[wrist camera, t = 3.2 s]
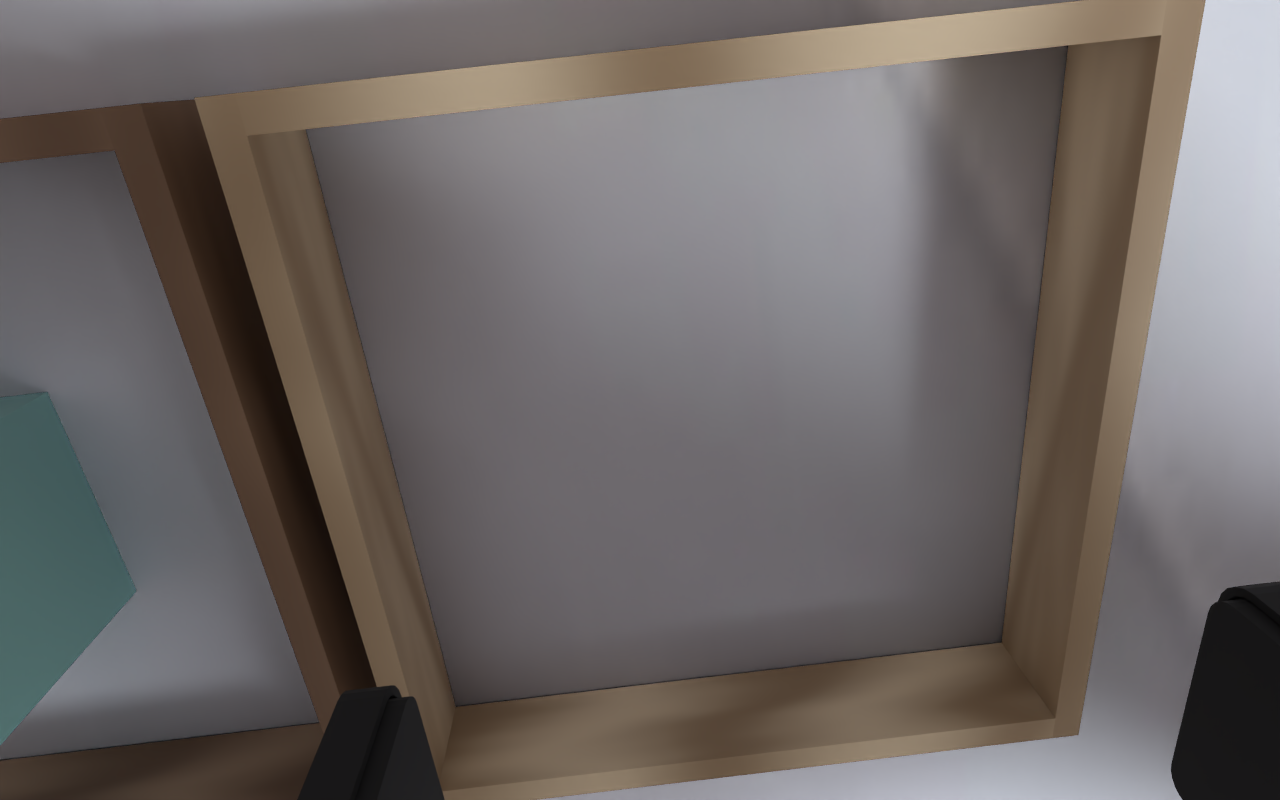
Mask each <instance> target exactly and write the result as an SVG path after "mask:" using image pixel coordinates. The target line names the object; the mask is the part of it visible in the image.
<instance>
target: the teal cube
mask: <svg viewBox="0 0 1280 800" xmlns="http://www.w3.org/2000/svg"><path fill="white" fill-rule="evenodd" d="M135 592H136V589H135V586H134V584H133V582H132V580H131V577H130V575H129V573H128V571H127V568H126V566H125V564H124V562H123V560H122V557H121V555H120V553H119V551H118V548H117V546H116V544H115V542H114V540H113V537H112V535H111V533H110V531H109V528H108V526H107V524H106V522H105V519H104V517H103V515H102V513H101V511H100V508H99V506H98V504H97V502H96V499H95V497H94V495H93V493H92V490H91V488H90V486H89V484H88V482H87V479H86V477H85V475H84V473H83V470H82V468H81V466H80V464H79V461H78V459H77V457H76V455H75V453H74V450H73V448H72V446H71V444H70V441H69V439H68V437H67V435H66V433H65V430H64V428H63V426H62V424H61V421H60V419H59V417H58V415H57V412H56V410H55V408H54V406H53V404H52V401H51V399H50V397H49V395H48V392H43V393H34V394H25V395H17V396H8V397H0V745H1V744H2V743H3V742H4V741H5V740H6V738H7V737H8V736H9V735H10V734H11V733H12V732H13V730H14V729H15V728H16V727H17V726H18V725H19V724H20V723H21V721H22V720H23V719H24V718H25V717H26V716H27V715H28V713H29V712H30V711H31V710H32V709H33V708H34V707H35V706H36V704H37V703H38V702H39V701H40V700H41V699H42V698H43V696H44V695H45V694H46V693H47V692H48V691H49V690H50V689H51V687H52V686H53V685H54V684H55V683H56V682H57V681H58V679H59V678H60V677H61V676H62V675H63V674H64V673H65V672H66V670H67V669H68V668H69V667H70V666H71V665H72V664H73V662H74V661H75V660H76V659H77V658H78V657H79V656H80V655H81V653H82V652H83V651H84V650H85V649H86V648H87V647H88V645H89V644H90V643H91V642H92V641H93V640H94V639H95V638H96V636H97V635H98V634H99V633H100V632H101V631H102V630H103V628H104V627H105V626H106V625H107V624H108V623H109V622H110V621H111V619H112V618H113V617H114V616H115V615H116V614H117V613H118V611H119V610H120V609H121V608H122V607H123V606H124V605H125V604H126V602H127V601H128V600H129V599H130V598H131V597H132V596H133V594H134V593H135Z"/></svg>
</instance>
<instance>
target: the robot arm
mask: <svg viewBox="0 0 1280 800" xmlns="http://www.w3.org/2000/svg"><path fill="white" fill-rule="evenodd" d="M1171 773H1172V779H1173V782H1174V785H1175V787H1176V789H1177V791H1178V793H1179V795H1180V797H1181V798H1182V799H1183V800H1280V582H1272V583H1263V584H1255V585H1246V586H1238V587H1232V588H1227V589H1226V590H1225V591H1224V592H1223V593H1222V594H1221V596H1220V598H1219V600H1218V602H1216V603H1214V604H1213V605H1212V606H1211V607H1210V610H1209V612H1208V616H1207V620H1206V624H1205V628H1204V632H1203V636H1202V640H1201V645H1200V649H1199V653H1198V657H1197V661H1196V665H1195V669H1194V673H1193V677H1192V682H1191V686H1190V690H1189V694H1188V698H1187V702H1186V706H1185V710H1184V714H1183V719H1182V723H1181V727H1180V731H1179V735H1178V739H1177V743H1176V747H1175V752H1174V756H1173V760H1172V764H1171ZM297 800H445V799H444V795H443V792H442V788H441V785H440V781H439V778H438V774H437V771H436V767H435V764H434V760H433V757H432V753H431V750H430V746H429V743H428V739H427V736H426V732H425V729H424V725H423V722H422V718H421V715H420V711H419V708H418V704H417V702H416V699H415V698H414V697H413V696H409V697H402V696H401V694H400V691H399V689H398V688H397V687H396V686H394V685H390V686H382V687H373V688H364V689H356V690H347V691H345V692H343V693H342V694H341V696H340V697H339V699H338V701H337V703H336V706H335V708H334V711H333V713H332V716H331V718H330V720H329V723H328V725H327V728H326V730H325V733H324V735H323V738H322V740H321V742H320V745H319V747H318V750H317V752H316V755H315V757H314V760H313V762H312V764H311V767H310V769H309V772H308V774H307V777H306V779H305V782H304V784H303V787H302V789H301V791H300V794H299V796H298V799H297Z"/></svg>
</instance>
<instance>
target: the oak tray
mask: <svg viewBox="0 0 1280 800" xmlns="http://www.w3.org/2000/svg"><path fill="white" fill-rule="evenodd" d="M1204 6H1205V0H1082V1H1073V2H1063V3H1054V4H1045V5H1036V6H1027V7H1018V8H1009V9H1000V10H990V11H981V12H972V13H963V14H954V15H945V16H936V17H926V18H917V19H908V20H899V21H890V22H881V23H872V24H863V25H853V26H844V27H835V28H826V29H817V30H808V31H799V32H789V33H780V34H771V35H762V36H753V37H744V38H735V39H726V40H716V41H707V42H698V43H689V44H680V45H671V46H662V47H652V48H643V49H634V50H625V51H616V52H607V53H598V54H589V55H579V56H570V57H561V58H552V59H543V60H534V61H525V62H515V63H506V64H497V65H488V66H479V67H470V68H461V69H452V70H442V71H433V72H424V73H415V74H406V75H397V76H388V77H379V78H369V79H360V80H351V81H342V82H333V83H324V84H315V85H305V86H296V87H287V88H278V89H269V90H260V91H251V92H242V93H232V94H223V95H214V96H205V97H196V98H194V99H195V102H196V106H197V109H198V112H199V115H200V118H201V122H202V125H203V128H204V131H205V135H206V138H207V141H208V144H209V147H210V151H211V154H212V157H213V160H214V164H215V167H216V170H217V173H218V176H219V180H220V183H221V186H222V189H223V193H224V196H225V199H226V202H227V205H228V209H229V212H230V215H231V218H232V222H233V225H234V228H235V231H236V234H237V238H238V241H239V244H240V247H241V251H242V254H243V257H244V260H245V263H246V267H247V270H248V273H249V276H250V280H251V283H252V286H253V289H254V292H255V296H256V299H257V302H258V305H259V309H260V312H261V315H262V318H263V321H264V325H265V328H266V331H267V334H268V338H269V341H270V344H271V347H272V350H273V354H274V357H275V360H276V363H277V367H278V370H279V373H280V376H281V379H282V383H283V386H284V389H285V392H286V396H287V399H288V402H289V405H290V408H291V412H292V415H293V418H294V421H295V425H296V428H297V431H298V434H299V437H300V441H301V444H302V447H303V450H304V454H305V457H306V460H307V463H308V466H309V470H310V473H311V476H312V479H313V483H314V486H315V489H316V492H317V495H318V499H319V502H320V505H321V508H322V512H323V515H324V518H325V521H326V524H327V528H328V531H329V534H330V537H331V541H332V544H333V547H334V550H335V553H336V557H337V560H338V563H339V566H340V570H341V573H342V576H343V579H344V582H345V586H346V589H347V592H348V595H349V599H350V602H351V605H352V608H353V611H354V615H355V618H356V621H357V624H358V628H359V631H360V634H361V637H362V640H363V644H364V647H365V650H366V653H367V657H368V660H369V663H370V666H371V669H372V673H373V676H374V679H375V682H376V686H377V687H382V686H390V685H394V686H396V687H397V688H398V689H399V691H400V694H401V696H402V697H409V696H413V697H414V698H415V699H416V702H417V704H418V708H419V711H420V715H421V718H422V722H423V725H424V729H425V732H426V736H427V739H428V743H429V746H430V750H431V753H432V757H433V760H434V764H435V767H436V771H437V774H438V778H439V781H440V785H441V788H442V792H443V795H444V799H445V800H537V799H546V798H554V797H562V796H571V795H579V794H587V793H596V792H604V791H613V790H621V789H629V788H638V787H646V786H655V785H663V784H671V783H680V782H688V781H696V780H705V779H713V778H722V777H730V776H738V775H747V774H755V773H764V772H772V771H780V770H789V769H797V768H806V767H814V766H822V765H831V764H839V763H847V762H856V761H864V760H873V759H881V758H889V757H898V756H906V755H915V754H923V753H931V752H940V751H948V750H957V749H965V748H973V747H982V746H990V745H998V744H1007V743H1015V742H1024V741H1032V740H1040V739H1049V738H1057V737H1066V736H1074V735H1078V734H1079V728H1080V722H1081V717H1082V711H1083V705H1084V699H1085V693H1086V688H1087V682H1088V676H1089V670H1090V665H1091V659H1092V653H1093V647H1094V641H1095V636H1096V630H1097V624H1098V618H1099V613H1100V607H1101V601H1102V595H1103V589H1104V584H1105V578H1106V572H1107V566H1108V561H1109V555H1110V549H1111V543H1112V537H1113V532H1114V526H1115V520H1116V514H1117V509H1118V503H1119V497H1120V491H1121V485H1122V480H1123V474H1124V468H1125V462H1126V457H1127V451H1128V445H1129V439H1130V433H1131V428H1132V422H1133V416H1134V410H1135V405H1136V399H1137V393H1138V387H1139V381H1140V376H1141V370H1142V364H1143V358H1144V353H1145V347H1146V341H1147V335H1148V329H1149V324H1150V318H1151V312H1152V306H1153V301H1154V295H1155V289H1156V283H1157V277H1158V272H1159V266H1160V260H1161V254H1162V249H1163V243H1164V237H1165V231H1166V225H1167V220H1168V214H1169V208H1170V202H1171V197H1172V191H1173V185H1174V179H1175V173H1176V168H1177V162H1178V156H1179V150H1180V145H1181V139H1182V133H1183V127H1184V121H1185V116H1186V110H1187V104H1188V98H1189V93H1190V87H1191V81H1192V75H1193V69H1194V64H1195V58H1196V52H1197V46H1198V41H1199V35H1200V29H1201V23H1202V17H1203V12H1204ZM1067 45H1068V52H1067V61H1066V70H1065V79H1064V88H1063V97H1062V106H1061V115H1060V124H1059V133H1058V142H1057V151H1056V160H1055V169H1054V178H1053V187H1052V195H1051V204H1050V213H1049V222H1048V231H1047V240H1046V249H1045V258H1044V267H1043V276H1042V285H1041V294H1040V303H1039V312H1038V321H1037V330H1036V339H1035V348H1034V357H1033V366H1032V374H1031V383H1030V392H1029V401H1028V410H1027V419H1026V428H1025V437H1024V446H1023V455H1022V464H1021V473H1020V482H1019V491H1018V500H1017V509H1016V518H1015V527H1014V536H1013V545H1012V553H1011V562H1010V571H1009V580H1008V589H1007V598H1006V607H1005V616H1004V625H1003V634H1002V643H994V644H985V645H977V646H968V647H960V648H951V649H943V650H934V651H926V652H917V653H909V654H901V655H892V656H884V657H875V658H867V659H858V660H850V661H841V662H833V663H824V664H816V665H807V666H799V667H790V668H782V669H773V670H765V671H756V672H748V673H739V674H731V675H722V676H714V677H705V678H697V679H688V680H680V681H671V682H663V683H655V684H646V685H638V686H629V687H621V688H612V689H604V690H595V691H587V692H578V693H570V694H561V695H553V696H544V697H536V698H527V699H519V700H510V701H502V702H493V703H485V704H476V705H468V706H459V707H456V706H455V702H454V698H453V694H452V691H451V687H450V683H449V679H448V675H447V671H446V667H445V664H444V660H443V656H442V652H441V648H440V644H439V641H438V637H437V633H436V629H435V625H434V621H433V617H432V614H431V610H430V606H429V602H428V598H427V594H426V591H425V587H424V583H423V579H422V575H421V571H420V568H419V564H418V560H417V556H416V552H415V548H414V544H413V541H412V537H411V533H410V529H409V525H408V521H407V518H406V514H405V510H404V506H403V502H402V498H401V494H400V491H399V487H398V483H397V479H396V475H395V471H394V468H393V464H392V460H391V456H390V452H389V448H388V445H387V441H386V437H385V433H384V429H383V425H382V421H381V418H380V414H379V410H378V406H377V402H376V398H375V395H374V391H373V387H372V383H371V379H370V375H369V371H368V368H367V364H366V360H365V356H364V352H363V348H362V345H361V341H360V337H359V333H358V329H357V325H356V322H355V318H354V314H353V310H352V306H351V302H350V298H349V295H348V291H347V287H346V283H345V279H344V275H343V272H342V268H341V264H340V260H339V256H338V252H337V248H336V245H335V241H334V237H333V233H332V229H331V225H330V222H329V218H328V214H327V210H326V206H325V202H324V199H323V195H322V191H321V187H320V183H319V179H318V175H317V172H316V168H315V164H314V160H313V156H312V152H311V149H310V145H309V141H308V137H307V133H306V129H313V128H322V127H331V126H340V125H350V124H359V123H368V122H377V121H386V120H395V119H404V118H413V117H422V116H431V115H440V114H450V113H459V112H468V111H477V110H486V109H495V108H504V107H513V106H522V105H531V104H540V103H549V102H559V101H568V100H577V99H586V98H595V97H604V96H613V95H622V94H631V93H640V92H649V91H658V90H668V89H677V88H686V87H695V86H704V85H713V84H722V83H731V82H740V81H749V80H758V79H768V78H777V77H786V76H795V75H804V74H813V73H822V72H831V71H840V70H849V69H858V68H867V67H877V66H886V65H895V64H904V63H913V62H922V61H931V60H940V59H949V58H958V57H967V56H976V55H986V54H995V53H1004V52H1013V51H1022V50H1031V49H1040V48H1049V47H1058V46H1067Z"/></svg>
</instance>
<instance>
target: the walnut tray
mask: <svg viewBox="0 0 1280 800" xmlns="http://www.w3.org/2000/svg"><path fill="white" fill-rule="evenodd" d="M113 150H115V153H116V156H117V159H118V162H119V164H120V167H121V170H122V173H123V176H124V178H125V181H126V184H127V187H128V190H129V192H130V195H131V198H132V201H133V203H134V206H135V209H136V212H137V215H138V217H139V220H140V223H141V226H142V229H143V231H144V234H145V237H146V240H147V243H148V245H149V248H150V251H151V254H152V257H153V259H154V262H155V265H156V268H157V270H158V273H159V276H160V279H161V282H162V284H163V287H164V290H165V293H166V296H167V298H168V301H169V304H170V307H171V310H172V312H173V315H174V318H175V321H176V324H177V326H178V329H179V332H180V335H181V337H182V340H183V343H184V346H185V349H186V351H187V354H188V357H189V360H190V363H191V365H192V368H193V371H194V374H195V377H196V379H197V382H198V385H199V388H200V391H201V393H202V396H203V399H204V402H205V404H206V407H207V410H208V413H209V416H210V418H211V421H212V424H213V427H214V430H215V432H216V435H217V438H218V441H219V444H220V446H221V449H222V452H223V455H224V458H225V460H226V463H227V466H228V469H229V471H230V474H231V477H232V480H233V483H234V485H235V488H236V491H237V494H238V497H239V499H240V502H241V505H242V508H243V511H244V513H245V516H246V519H247V522H248V525H249V527H250V530H251V533H252V536H253V539H254V541H255V544H256V547H257V550H258V552H259V555H260V558H261V561H262V564H263V566H264V569H265V572H266V575H267V578H268V580H269V583H270V586H271V589H272V592H273V594H274V597H275V600H276V603H277V606H278V608H279V611H280V614H281V617H282V619H283V622H284V625H285V628H286V631H287V633H288V636H289V639H290V642H291V645H292V647H293V650H294V653H295V656H296V659H297V661H298V664H299V667H300V670H301V673H302V675H303V678H304V681H305V684H306V686H307V689H308V692H309V695H310V698H311V700H312V703H313V706H314V709H315V712H316V714H317V717H318V720H319V723H315V724H307V725H298V726H290V727H281V728H273V729H264V730H256V731H247V732H239V733H230V734H222V735H213V736H205V737H196V738H188V739H179V740H171V741H162V742H154V743H145V744H137V745H129V746H120V747H112V748H103V749H95V750H86V751H78V752H69V753H61V754H52V755H44V756H35V757H27V758H18V759H10V760H1V761H0V800H297V799H298V796H299V794H300V791H301V789H302V787H303V784H304V782H305V779H306V777H307V774H308V772H309V769H310V767H311V764H312V762H313V760H314V757H315V755H316V752H317V750H318V747H319V745H320V742H321V740H322V738H323V735H324V733H325V730H326V728H327V725H328V723H329V720H330V718H331V716H332V713H333V711H334V708H335V706H336V703H337V701H338V699H339V697H340V696H341V694H342V693H343V692H345V691H347V690H356V689H364V688H373V687H377V686H376V682H375V679H374V676H373V673H372V669H371V666H370V663H369V660H368V657H367V653H366V650H365V647H364V644H363V640H362V637H361V634H360V631H359V628H358V624H357V621H356V618H355V615H354V611H353V608H352V605H351V602H350V599H349V595H348V592H347V589H346V586H345V582H344V579H343V576H342V573H341V570H340V566H339V563H338V560H337V557H336V553H335V550H334V547H333V544H332V541H331V537H330V534H329V531H328V528H327V524H326V521H325V518H324V515H323V512H322V508H321V505H320V502H319V499H318V495H317V492H316V489H315V486H314V483H313V479H312V476H311V473H310V470H309V466H308V463H307V460H306V457H305V454H304V450H303V447H302V444H301V441H300V437H299V434H298V431H297V428H296V425H295V421H294V418H293V415H292V412H291V408H290V405H289V402H288V399H287V396H286V392H285V389H284V386H283V383H282V379H281V376H280V373H279V370H278V367H277V363H276V360H275V357H274V354H273V350H272V347H271V344H270V341H269V338H268V334H267V331H266V328H265V325H264V321H263V318H262V315H261V312H260V309H259V305H258V302H257V299H256V296H255V292H254V289H253V286H252V283H251V280H250V276H249V273H248V270H247V267H246V263H245V260H244V257H243V254H242V251H241V247H240V244H239V241H238V238H237V234H236V231H235V228H234V225H233V222H232V218H231V215H230V212H229V209H228V205H227V202H226V199H225V196H224V193H223V189H222V186H221V183H220V180H219V176H218V173H217V170H216V167H215V164H214V160H213V157H212V154H211V151H210V147H209V144H208V141H207V138H206V135H205V131H204V128H203V125H202V122H201V118H200V115H199V112H198V109H197V106H196V102H195V100H181V101H168V102H155V103H142V104H132V105H123V106H114V107H105V108H95V109H86V110H77V111H68V112H59V113H50V114H41V115H31V116H22V117H13V118H4V119H0V163H4V162H13V161H23V160H32V159H41V158H50V157H59V156H68V155H77V154H86V153H95V152H104V151H113Z"/></svg>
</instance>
